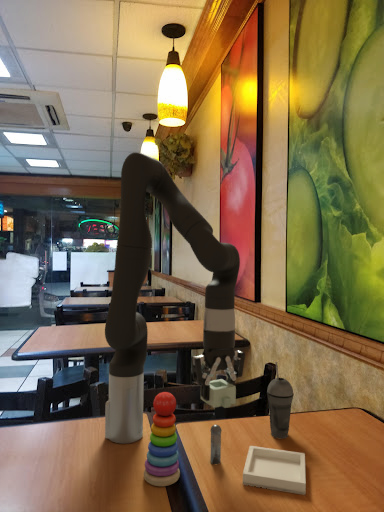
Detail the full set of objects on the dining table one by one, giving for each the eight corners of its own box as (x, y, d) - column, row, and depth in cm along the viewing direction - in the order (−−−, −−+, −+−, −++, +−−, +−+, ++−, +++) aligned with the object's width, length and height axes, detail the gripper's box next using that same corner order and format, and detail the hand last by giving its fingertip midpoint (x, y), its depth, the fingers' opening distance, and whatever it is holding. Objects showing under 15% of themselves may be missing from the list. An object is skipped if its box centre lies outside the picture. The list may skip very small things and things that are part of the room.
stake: (208, 463, 94) (209, 426, 94) (211, 458, 96) (211, 422, 96) (219, 465, 93) (220, 428, 93) (221, 459, 96) (222, 423, 96)
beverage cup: (293, 442, 105) (295, 366, 105) (265, 439, 107) (266, 365, 106) (292, 430, 112) (293, 359, 112) (266, 427, 114) (267, 358, 114)
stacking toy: (165, 492, 82) (167, 402, 82) (136, 480, 86) (137, 394, 86) (186, 475, 89) (188, 391, 89) (158, 464, 93) (159, 384, 93)
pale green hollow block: (200, 398, 96) (200, 382, 96) (221, 395, 99) (221, 378, 98) (216, 409, 89) (216, 391, 89) (238, 405, 92) (238, 387, 92)
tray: (242, 484, 86) (242, 473, 86) (249, 455, 98) (249, 445, 98) (305, 495, 82) (305, 483, 82) (304, 463, 95) (304, 453, 95)
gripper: (235, 322, 101) (234, 388, 101) (184, 326, 94) (183, 397, 94) (253, 327, 94) (251, 398, 95) (200, 332, 88) (199, 408, 88)
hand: (217, 397), depth 94 cm, fingers closed on pale green hollow block, 6 cm apart
